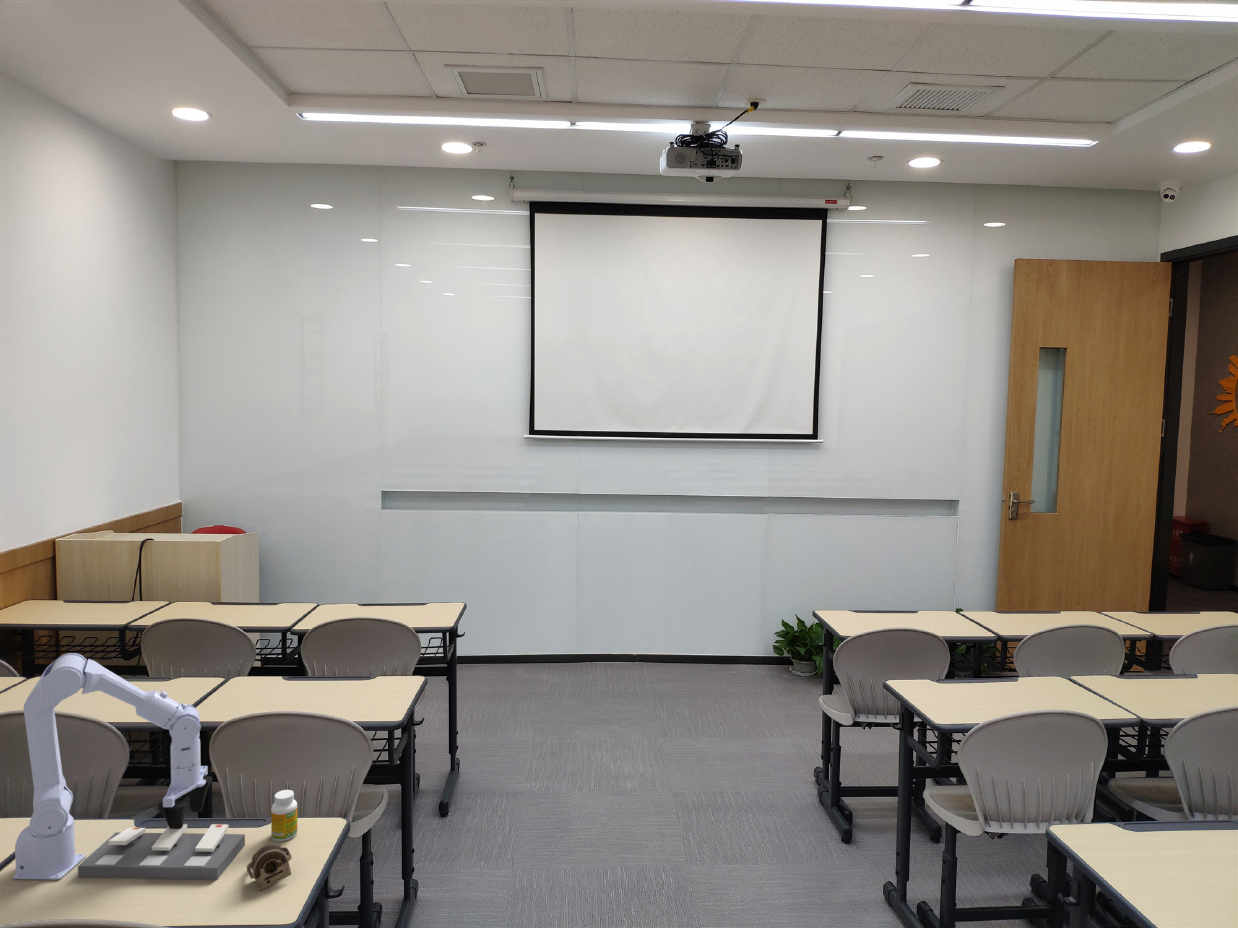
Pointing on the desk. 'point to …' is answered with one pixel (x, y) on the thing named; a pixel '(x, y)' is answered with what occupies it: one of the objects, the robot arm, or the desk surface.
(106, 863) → the rocker switch panel
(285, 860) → the mechanical counter
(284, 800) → the supplement bottle
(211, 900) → the desk surface
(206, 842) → the rocker right
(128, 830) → the rocker left
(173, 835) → the rocker middle
